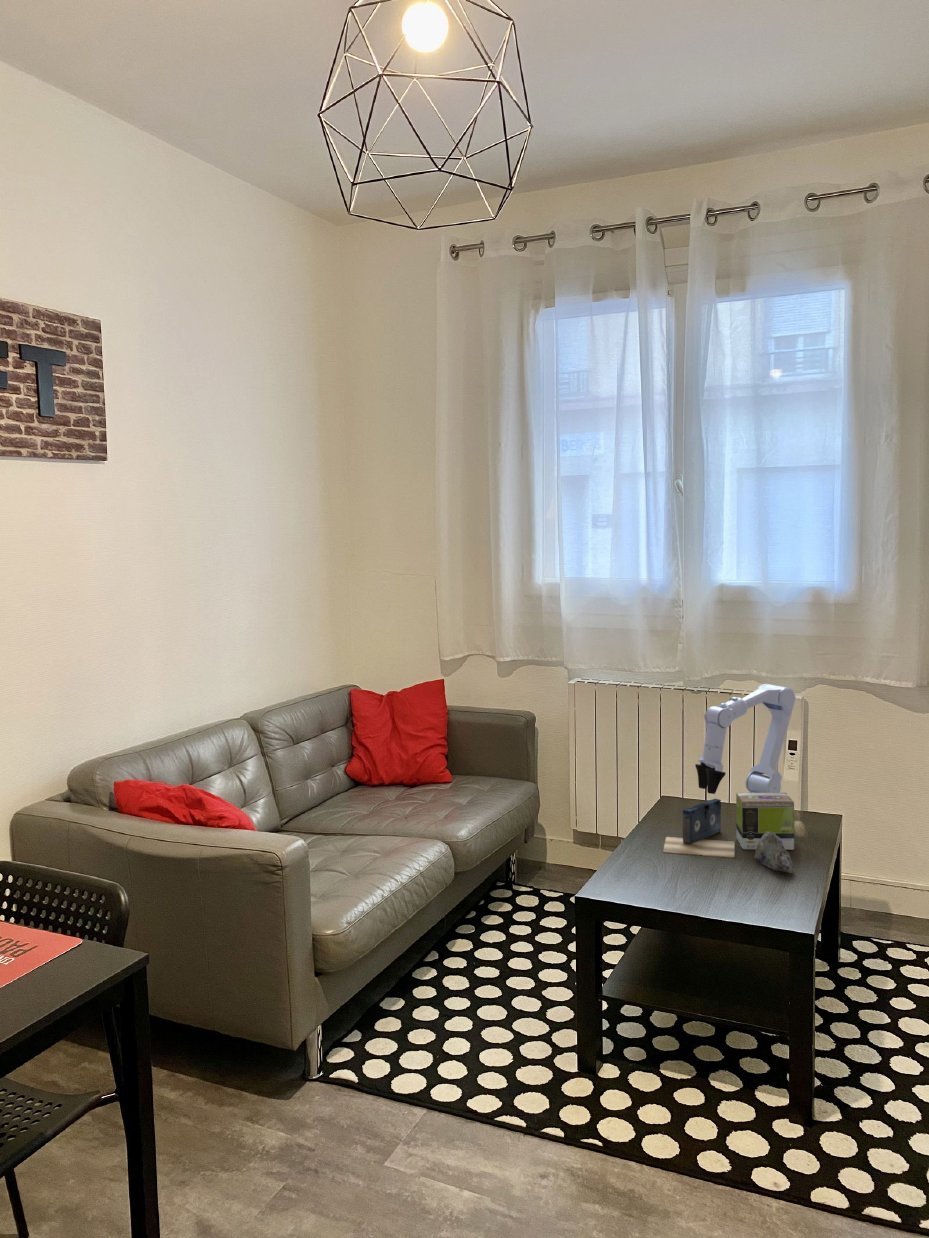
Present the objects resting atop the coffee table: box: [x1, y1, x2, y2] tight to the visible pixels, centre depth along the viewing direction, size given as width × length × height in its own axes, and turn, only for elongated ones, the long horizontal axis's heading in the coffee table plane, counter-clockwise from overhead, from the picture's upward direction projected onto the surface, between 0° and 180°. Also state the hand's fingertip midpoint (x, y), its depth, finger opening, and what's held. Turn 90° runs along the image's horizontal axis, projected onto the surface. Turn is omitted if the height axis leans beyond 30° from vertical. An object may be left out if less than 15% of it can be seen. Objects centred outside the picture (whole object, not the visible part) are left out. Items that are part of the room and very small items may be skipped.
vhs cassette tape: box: [682, 798, 722, 844], centre depth 296 cm, size 18×3×10 cm, turn 134°
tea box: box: [735, 792, 795, 851], centre depth 288 cm, size 15×10×15 cm, turn 84°
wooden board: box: [662, 836, 736, 859], centre depth 287 cm, size 14×20×1 cm
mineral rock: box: [754, 831, 794, 874], centre depth 269 cm, size 13×11×10 cm
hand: (706, 790), depth 295 cm, fingers open, 7 cm apart
